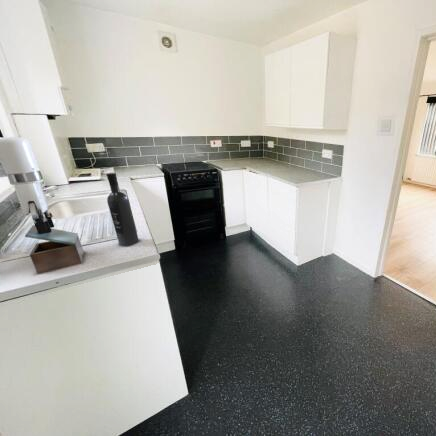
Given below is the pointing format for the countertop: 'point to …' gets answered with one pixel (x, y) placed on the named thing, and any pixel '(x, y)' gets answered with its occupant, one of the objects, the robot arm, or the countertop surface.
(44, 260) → the chest
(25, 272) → the countertop surface
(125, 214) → the wine bottle
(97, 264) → the countertop surface
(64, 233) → the lid
